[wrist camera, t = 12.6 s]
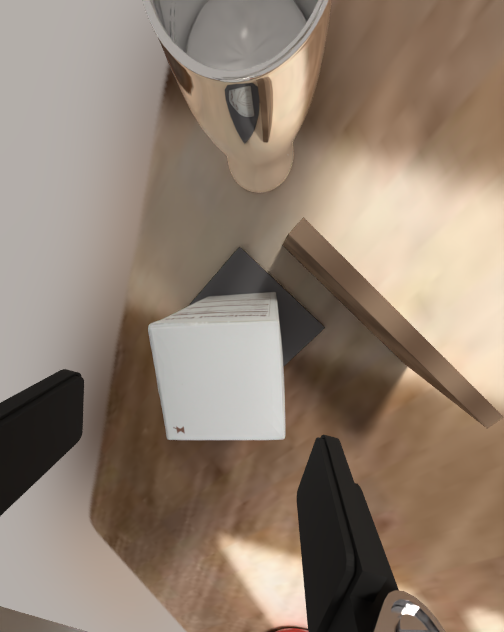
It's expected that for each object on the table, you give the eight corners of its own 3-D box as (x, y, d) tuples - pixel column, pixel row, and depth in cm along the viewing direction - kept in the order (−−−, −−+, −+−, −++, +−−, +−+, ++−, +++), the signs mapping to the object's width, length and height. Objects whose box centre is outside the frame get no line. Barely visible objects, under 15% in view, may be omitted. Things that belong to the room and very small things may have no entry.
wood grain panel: (282, 245, 24) (288, 233, 14) (290, 235, 23) (303, 217, 14) (404, 363, 25) (487, 428, 15) (414, 356, 25) (504, 417, 15)
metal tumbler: (239, 210, 23) (181, 123, 9) (211, 134, 22) (90, -114, 7) (308, 180, 22) (376, 23, 8) (283, 99, 21) (307, -279, 6)
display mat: (169, 329, 27) (167, 330, 26) (240, 246, 24) (239, 246, 23) (247, 397, 28) (247, 400, 27) (323, 326, 25) (324, 327, 25)
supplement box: (280, 357, 26) (287, 446, 13) (213, 359, 26) (162, 444, 14) (278, 289, 24) (282, 319, 12) (206, 293, 25) (141, 325, 13)
